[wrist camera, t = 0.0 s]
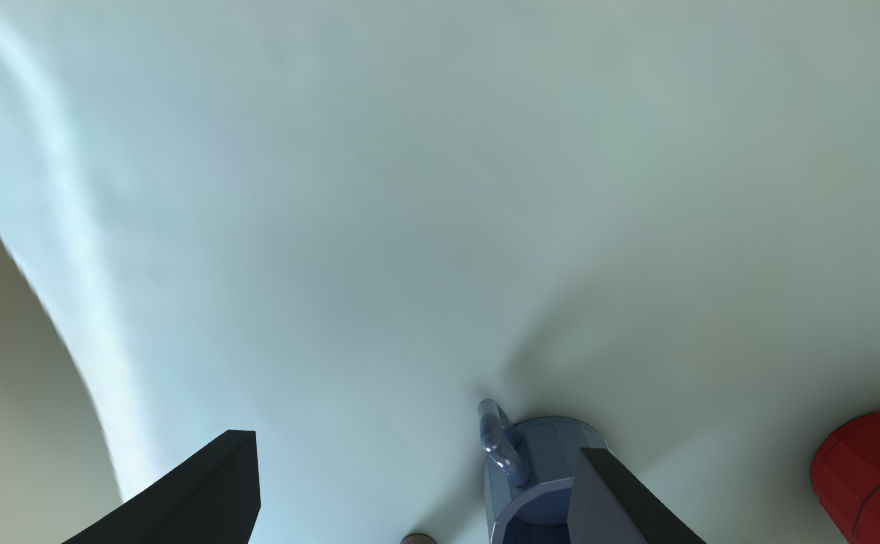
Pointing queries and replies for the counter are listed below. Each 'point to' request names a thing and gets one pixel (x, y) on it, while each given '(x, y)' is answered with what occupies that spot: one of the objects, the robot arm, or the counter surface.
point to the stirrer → (417, 540)
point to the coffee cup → (530, 474)
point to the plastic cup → (851, 479)
